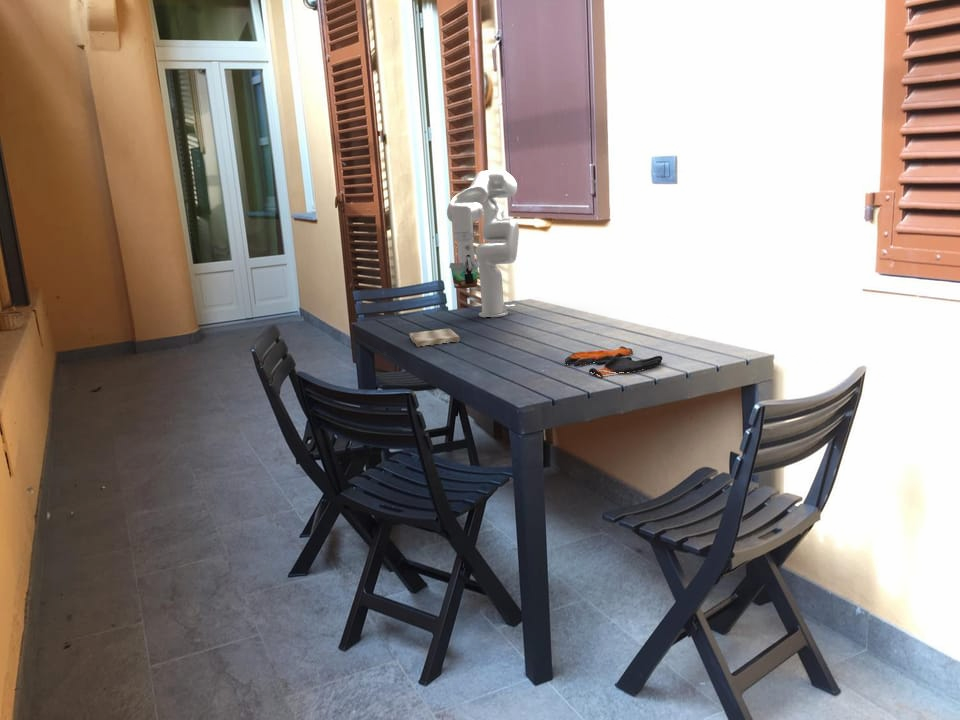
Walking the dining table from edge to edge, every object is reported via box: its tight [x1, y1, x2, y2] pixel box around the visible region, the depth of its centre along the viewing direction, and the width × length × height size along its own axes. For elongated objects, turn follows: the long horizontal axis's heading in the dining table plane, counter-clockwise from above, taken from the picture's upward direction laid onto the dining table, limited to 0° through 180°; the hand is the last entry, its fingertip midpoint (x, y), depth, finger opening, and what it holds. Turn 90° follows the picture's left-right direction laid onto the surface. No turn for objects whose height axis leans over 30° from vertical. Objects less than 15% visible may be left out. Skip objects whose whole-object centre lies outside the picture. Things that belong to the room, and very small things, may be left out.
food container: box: [449, 259, 480, 289], centre depth 307 cm, size 12×6×10 cm, turn 111°
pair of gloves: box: [564, 345, 663, 376], centre depth 243 cm, size 27×24×3 cm
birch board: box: [409, 327, 461, 348], centre depth 299 cm, size 16×18×2 cm
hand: (467, 282), depth 309 cm, fingers closed on food container, 5 cm apart
